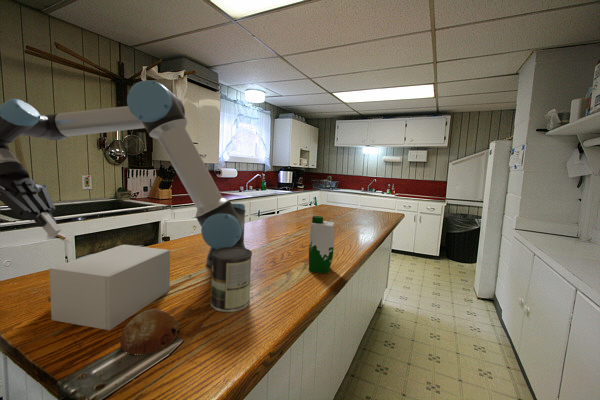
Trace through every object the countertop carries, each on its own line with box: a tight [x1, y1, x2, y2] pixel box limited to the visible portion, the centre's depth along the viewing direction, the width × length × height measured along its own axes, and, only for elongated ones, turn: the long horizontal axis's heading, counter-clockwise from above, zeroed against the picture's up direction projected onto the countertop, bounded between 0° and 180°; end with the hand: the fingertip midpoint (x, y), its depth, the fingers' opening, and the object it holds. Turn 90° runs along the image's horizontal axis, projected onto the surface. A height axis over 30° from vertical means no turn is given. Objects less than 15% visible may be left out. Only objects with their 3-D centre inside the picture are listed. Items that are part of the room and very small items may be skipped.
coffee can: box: [210, 247, 253, 313], centre depth 72 cm, size 10×10×14 cm
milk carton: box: [308, 215, 335, 275], centre depth 100 cm, size 9×9×20 cm
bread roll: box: [120, 308, 181, 356], centre depth 55 cm, size 10×10×8 cm
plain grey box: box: [49, 244, 171, 331], centre depth 68 cm, size 15×20×12 cm
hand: (55, 233), depth 74 cm, fingers closed
